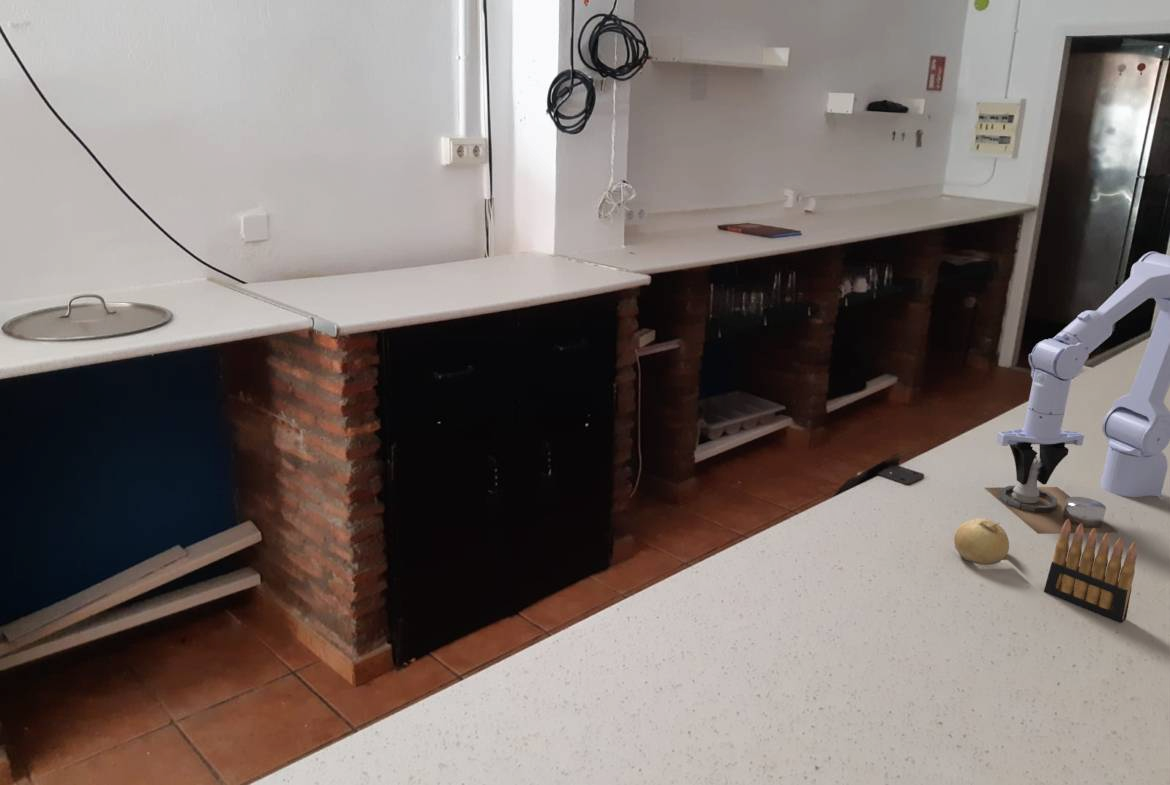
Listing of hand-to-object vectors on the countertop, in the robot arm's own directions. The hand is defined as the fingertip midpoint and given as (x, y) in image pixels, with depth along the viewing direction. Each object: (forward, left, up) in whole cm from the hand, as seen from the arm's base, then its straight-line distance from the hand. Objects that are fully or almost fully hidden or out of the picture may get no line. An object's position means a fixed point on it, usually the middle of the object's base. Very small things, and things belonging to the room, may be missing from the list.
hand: (1031, 482), depth 161 cm
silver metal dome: (-6, +7, -4) cm, 10 cm away
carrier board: (-2, +3, -5) cm, 6 cm away
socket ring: (0, 0, -4) cm, 4 cm away
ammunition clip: (+9, +32, -5) cm, 34 cm away
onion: (+18, +18, -5) cm, 26 cm away
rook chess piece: (0, -1, -4) cm, 4 cm away
